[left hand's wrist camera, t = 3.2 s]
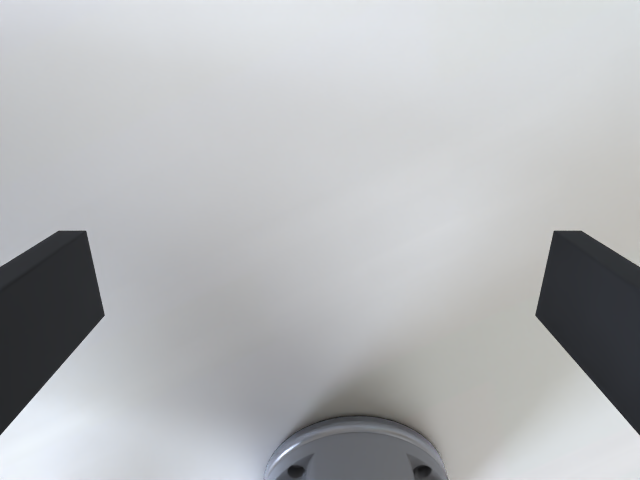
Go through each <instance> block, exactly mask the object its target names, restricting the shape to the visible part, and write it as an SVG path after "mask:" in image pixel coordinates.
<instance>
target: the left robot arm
mask: <svg viewBox="0 0 640 480" xmlns="http://www.w3.org/2000/svg"><path fill="white" fill-rule="evenodd" d="M104 316H105V315H104V310H103V306H102V301H101V297H100V292H99V287H98V283H97V278H96V274H95V269H94V265H93V260H92V256H91V251H90V246H89V242H88V237H87V233H86V231H58V232H56V233H54V234H53V235H51V236H50V237H48V238H46V239H45V240H43V241H42V242H40V243H38V244H37V245H35V246H34V247H32V248H30V249H29V250H27V251H25V252H24V253H22V254H21V255H19V256H17V257H16V258H14V259H13V260H11V261H9V262H8V263H6V264H5V265H3V266H1V267H0V435H1V434H2V433H3V432H4V430H5V429H6V428H7V427H8V426H9V425H10V423H11V422H12V421H13V420H14V419H15V418H16V417H17V415H18V414H19V413H20V412H21V411H22V410H23V409H24V407H25V406H26V405H27V404H28V403H29V402H30V401H31V399H32V398H33V397H34V396H35V395H36V394H37V393H38V391H39V390H40V389H41V388H42V387H43V386H44V384H45V383H46V382H47V381H48V380H49V379H50V378H51V376H52V375H53V374H54V373H55V372H56V371H57V370H58V368H59V367H60V366H61V365H62V364H63V363H64V362H65V360H66V359H67V358H68V357H69V356H70V355H71V353H72V352H73V351H74V350H75V349H76V348H77V347H78V345H79V344H80V343H81V342H82V341H83V340H84V339H85V337H86V336H87V335H88V334H89V333H90V332H91V331H92V329H93V328H94V327H95V326H96V325H97V324H98V323H99V321H100V320H101V319H102V318H103V317H104ZM535 316H536V317H537V318H538V319H539V320H540V321H541V323H542V324H543V325H544V326H545V327H546V328H547V329H548V331H549V332H550V333H551V334H552V335H553V336H554V337H555V339H556V340H557V341H558V342H559V343H560V344H561V345H562V347H563V348H564V349H565V350H566V351H567V352H568V353H569V355H570V356H571V357H572V358H573V359H574V360H575V362H576V363H577V364H578V365H579V366H580V367H581V368H582V370H583V371H584V372H585V373H586V374H587V375H588V376H589V378H590V379H591V380H592V381H593V382H594V383H595V384H596V386H597V387H598V388H599V389H600V390H601V391H602V393H603V394H604V395H605V396H606V397H607V398H608V399H609V401H610V402H611V403H612V404H613V405H614V406H615V407H616V409H617V410H618V411H619V412H620V413H621V414H622V415H623V417H624V418H625V419H626V420H627V421H628V422H629V423H630V425H631V426H632V427H633V428H634V429H635V430H636V432H637V433H638V434H639V435H640V267H639V266H637V265H635V264H634V263H632V262H631V261H629V260H627V259H626V258H624V257H623V256H621V255H619V254H618V253H616V252H615V251H613V250H611V249H610V248H608V247H606V246H605V245H603V244H602V243H600V242H598V241H597V240H595V239H594V238H592V237H590V236H589V235H587V234H586V233H584V232H582V231H554V233H553V237H552V242H551V246H550V251H549V256H548V260H547V265H546V269H545V274H544V278H543V283H542V287H541V292H540V297H539V301H538V306H537V310H536V315H535ZM264 480H448V477H447V473H446V470H445V467H444V464H443V461H442V459H441V457H440V455H439V453H438V452H437V450H436V449H435V448H434V446H433V445H432V444H431V443H430V442H429V441H428V440H427V439H426V438H425V437H423V436H422V435H421V434H419V433H418V432H416V431H414V430H413V429H411V428H409V427H407V426H405V425H402V424H400V423H397V422H394V421H390V420H387V419H382V418H377V417H368V416H348V417H339V418H333V419H329V420H325V421H321V422H318V423H315V424H313V425H310V426H308V427H306V428H304V429H302V430H300V431H298V432H296V433H295V434H293V435H292V436H291V437H289V438H288V439H287V440H286V441H284V442H283V443H282V444H281V445H280V446H279V447H278V448H277V450H276V451H275V452H274V453H273V455H272V457H271V458H270V460H269V462H268V464H267V467H266V470H265V474H264Z"/></svg>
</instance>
